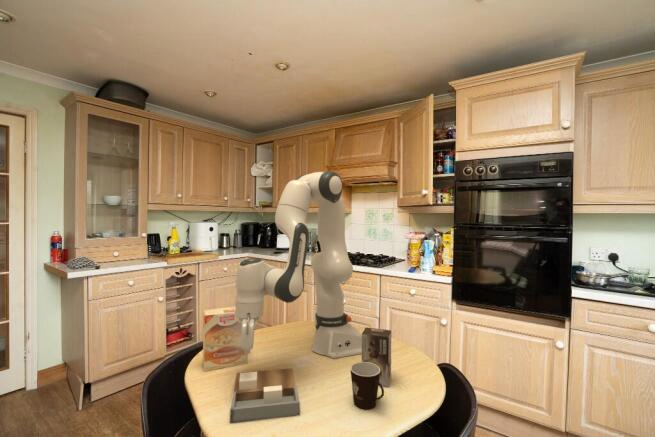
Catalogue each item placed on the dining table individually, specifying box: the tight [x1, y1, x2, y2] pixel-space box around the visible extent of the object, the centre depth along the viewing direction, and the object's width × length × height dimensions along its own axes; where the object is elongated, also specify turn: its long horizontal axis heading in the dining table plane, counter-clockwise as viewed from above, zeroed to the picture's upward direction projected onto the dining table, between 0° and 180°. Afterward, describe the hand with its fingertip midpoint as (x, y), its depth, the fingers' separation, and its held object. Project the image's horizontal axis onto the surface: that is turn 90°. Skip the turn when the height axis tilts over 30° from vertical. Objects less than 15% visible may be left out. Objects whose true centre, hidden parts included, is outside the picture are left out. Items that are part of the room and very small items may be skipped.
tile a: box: [264, 385, 282, 404], centre depth 88 cm, size 5×5×2 cm
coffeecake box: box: [202, 306, 249, 372], centre depth 114 cm, size 15×7×20 cm, turn 115°
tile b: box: [239, 371, 257, 390], centre depth 94 cm, size 5×5×2 cm
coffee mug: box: [349, 361, 385, 411], centre depth 89 cm, size 12×9×10 cm
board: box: [233, 367, 297, 401], centre depth 97 cm, size 18×12×3 cm, turn 102°
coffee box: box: [360, 327, 392, 388], centre depth 104 cm, size 9×6×16 cm
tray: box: [229, 385, 301, 424], centre depth 87 cm, size 18×8×4 cm, turn 102°
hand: (247, 352), depth 101 cm, fingers closed
